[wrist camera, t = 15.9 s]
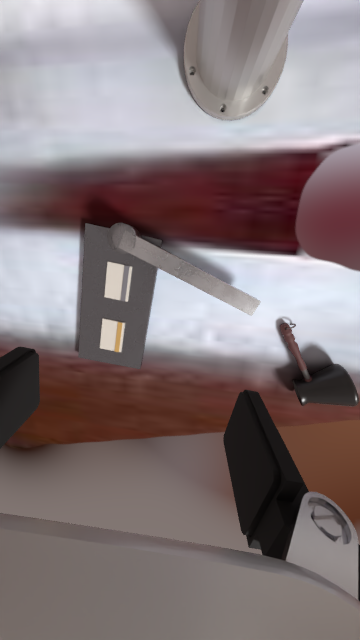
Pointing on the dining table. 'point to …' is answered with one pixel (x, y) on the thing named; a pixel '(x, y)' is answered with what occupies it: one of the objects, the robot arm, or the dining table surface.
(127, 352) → the chassis
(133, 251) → the swing arm
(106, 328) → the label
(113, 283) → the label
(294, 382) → the black dustpan
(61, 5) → the dining table surface
